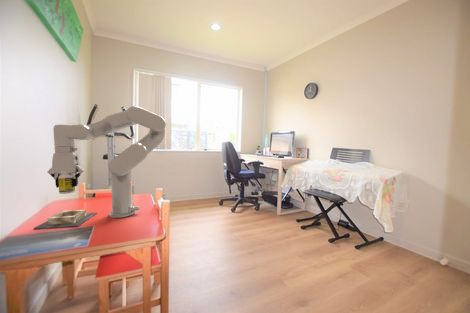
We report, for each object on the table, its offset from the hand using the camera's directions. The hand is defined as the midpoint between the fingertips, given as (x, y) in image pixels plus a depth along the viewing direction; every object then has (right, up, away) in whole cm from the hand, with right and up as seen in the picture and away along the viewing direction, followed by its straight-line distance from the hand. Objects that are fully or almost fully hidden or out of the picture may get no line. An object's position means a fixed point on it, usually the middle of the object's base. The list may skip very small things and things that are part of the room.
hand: (67, 186), depth 103 cm
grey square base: (0, -17, +1) cm, 17 cm away
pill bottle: (0, -3, 0) cm, 3 cm away
